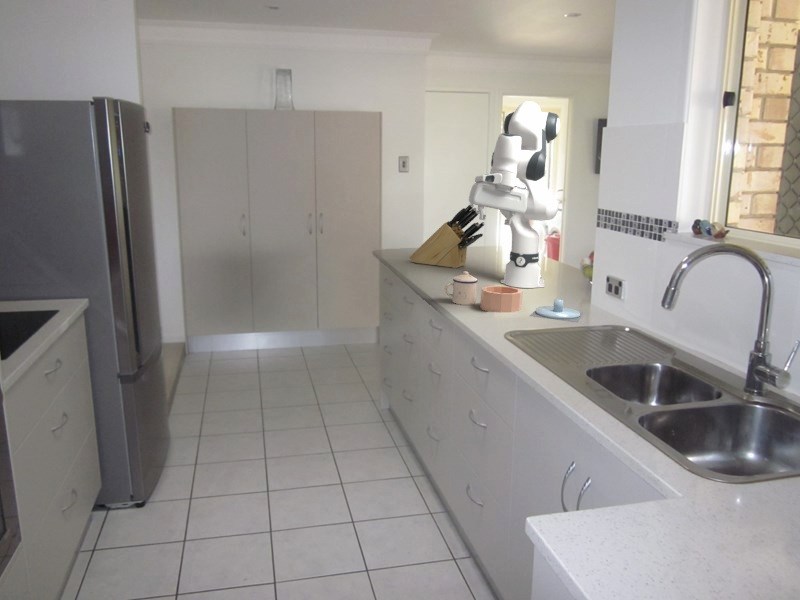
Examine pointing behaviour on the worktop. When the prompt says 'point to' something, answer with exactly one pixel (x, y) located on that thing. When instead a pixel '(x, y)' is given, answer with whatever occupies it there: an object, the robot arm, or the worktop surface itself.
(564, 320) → the mat
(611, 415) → the worktop surface
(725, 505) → the worktop surface
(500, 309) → the bowl
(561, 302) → the lid
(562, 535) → the worktop surface
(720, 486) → the worktop surface
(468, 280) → the teacup with lid
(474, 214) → the knife block
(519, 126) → the robot arm
